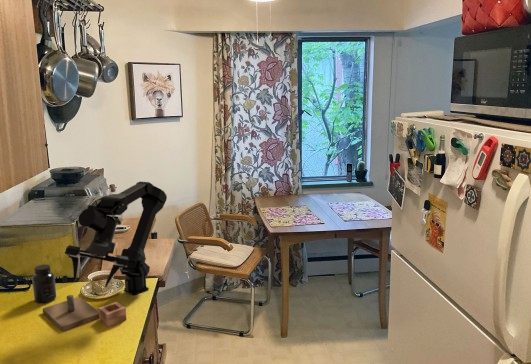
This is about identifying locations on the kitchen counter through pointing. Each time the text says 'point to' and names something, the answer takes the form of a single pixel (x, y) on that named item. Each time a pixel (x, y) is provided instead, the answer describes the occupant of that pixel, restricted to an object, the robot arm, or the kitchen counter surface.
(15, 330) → the kitchen counter surface
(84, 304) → the brown peg base
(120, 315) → the brown hollow square block
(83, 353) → the kitchen counter surface
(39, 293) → the supplement bottle
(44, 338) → the kitchen counter surface
